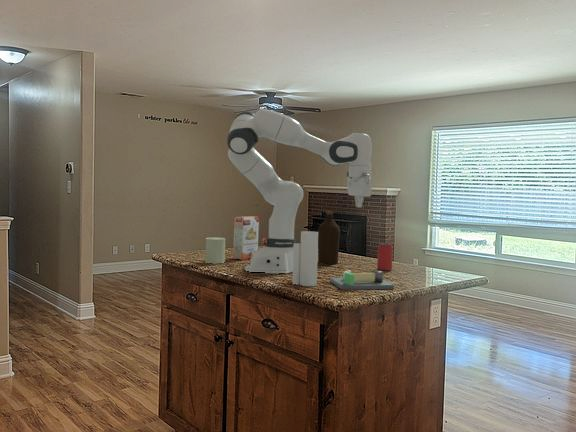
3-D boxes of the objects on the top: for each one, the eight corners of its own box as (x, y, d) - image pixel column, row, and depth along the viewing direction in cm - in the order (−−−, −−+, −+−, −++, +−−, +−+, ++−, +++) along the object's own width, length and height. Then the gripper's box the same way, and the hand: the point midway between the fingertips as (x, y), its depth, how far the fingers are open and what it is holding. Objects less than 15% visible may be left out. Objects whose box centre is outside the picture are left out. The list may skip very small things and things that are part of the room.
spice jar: (379, 280, 208) (380, 270, 207) (384, 282, 204) (385, 272, 204) (350, 281, 203) (350, 271, 203) (354, 283, 200) (354, 273, 200)
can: (201, 262, 252) (201, 237, 251) (215, 260, 259) (216, 235, 258) (214, 265, 246) (214, 238, 245) (229, 263, 253) (229, 237, 252)
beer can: (391, 271, 241) (392, 244, 240) (376, 270, 242) (377, 243, 242) (392, 269, 248) (393, 243, 247) (377, 268, 249) (378, 242, 248)
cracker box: (242, 260, 261) (243, 217, 260) (232, 259, 264) (233, 216, 263) (258, 257, 273) (259, 216, 272) (248, 256, 276) (249, 215, 275)
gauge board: (342, 289, 197) (342, 274, 196) (330, 281, 212) (330, 267, 212) (393, 289, 200) (394, 274, 200) (378, 281, 216) (379, 267, 216)
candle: (320, 284, 205) (321, 232, 204) (308, 287, 200) (310, 233, 198) (297, 280, 212) (298, 229, 211) (285, 282, 207) (286, 230, 206)
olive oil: (334, 265, 253) (335, 212, 252) (313, 263, 258) (315, 211, 257) (342, 262, 263) (343, 211, 261) (322, 260, 268) (323, 210, 266)
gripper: (376, 173, 209) (375, 208, 210) (359, 173, 229) (358, 206, 230) (360, 172, 208) (359, 208, 209) (345, 173, 228) (344, 205, 229)
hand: (358, 207), depth 220 cm, fingers closed
